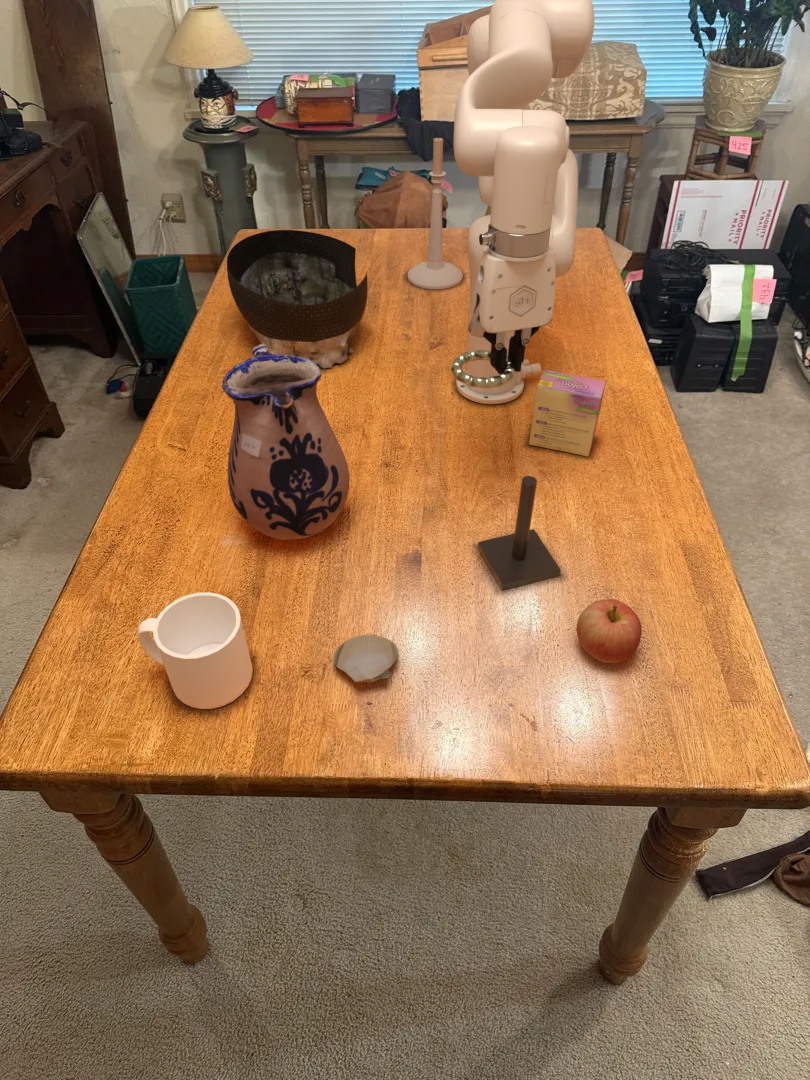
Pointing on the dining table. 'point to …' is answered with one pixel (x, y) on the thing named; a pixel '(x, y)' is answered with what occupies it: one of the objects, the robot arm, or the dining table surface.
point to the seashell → (366, 657)
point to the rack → (520, 548)
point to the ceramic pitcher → (283, 448)
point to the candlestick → (436, 237)
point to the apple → (609, 631)
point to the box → (566, 412)
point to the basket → (298, 293)
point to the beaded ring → (481, 381)
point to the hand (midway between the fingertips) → (506, 367)
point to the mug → (200, 649)
